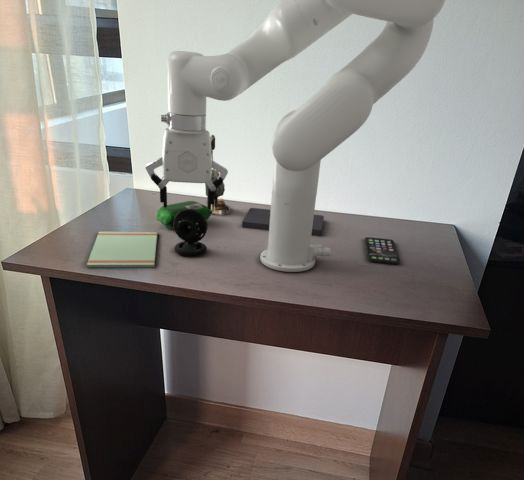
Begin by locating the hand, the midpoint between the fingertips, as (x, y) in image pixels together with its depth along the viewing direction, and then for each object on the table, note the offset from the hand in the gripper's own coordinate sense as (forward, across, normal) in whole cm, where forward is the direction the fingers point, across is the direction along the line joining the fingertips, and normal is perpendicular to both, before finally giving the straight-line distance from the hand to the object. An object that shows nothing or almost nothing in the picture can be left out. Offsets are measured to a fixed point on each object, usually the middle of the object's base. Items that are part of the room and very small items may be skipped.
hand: (187, 206), depth 107 cm
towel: (+11, -14, +1) cm, 18 cm away
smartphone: (+9, +48, 0) cm, 49 cm away
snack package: (+11, 0, +19) cm, 22 cm away
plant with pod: (+11, +9, +30) cm, 33 cm away
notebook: (+10, +27, +20) cm, 35 cm away
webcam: (+11, +1, 0) cm, 11 cm away
